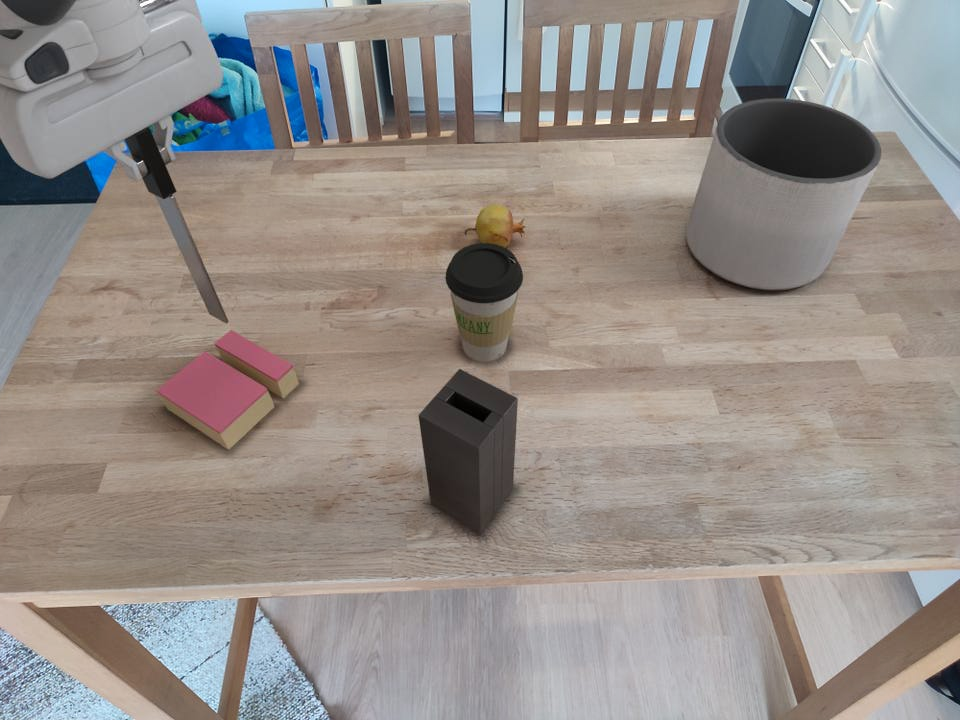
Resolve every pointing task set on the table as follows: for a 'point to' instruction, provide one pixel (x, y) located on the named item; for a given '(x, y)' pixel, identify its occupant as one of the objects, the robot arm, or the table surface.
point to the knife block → (469, 449)
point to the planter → (779, 191)
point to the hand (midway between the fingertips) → (152, 169)
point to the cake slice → (257, 363)
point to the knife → (174, 216)
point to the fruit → (496, 225)
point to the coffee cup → (484, 297)
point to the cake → (216, 399)
